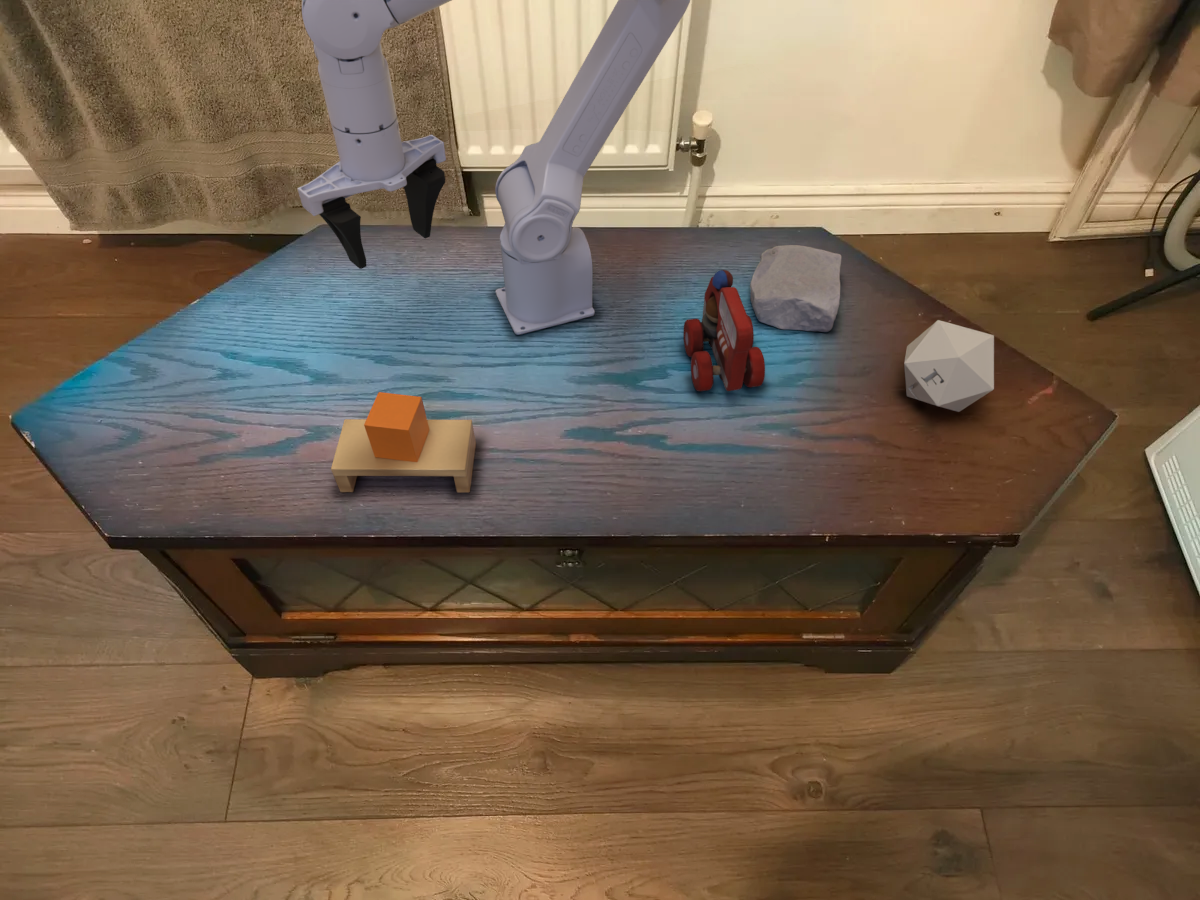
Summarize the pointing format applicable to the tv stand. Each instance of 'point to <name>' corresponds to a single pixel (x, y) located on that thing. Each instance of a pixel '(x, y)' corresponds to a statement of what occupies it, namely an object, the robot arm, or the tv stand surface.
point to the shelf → (440, 456)
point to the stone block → (797, 288)
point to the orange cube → (397, 426)
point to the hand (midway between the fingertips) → (390, 247)
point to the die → (950, 366)
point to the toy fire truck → (723, 339)
